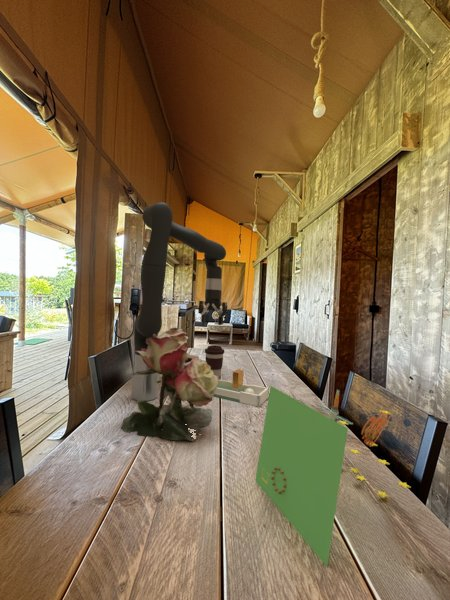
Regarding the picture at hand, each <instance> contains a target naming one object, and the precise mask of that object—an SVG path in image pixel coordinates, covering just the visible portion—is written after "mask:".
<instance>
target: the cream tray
mask: <svg viewBox="0 0 450 600" xmlns="http://www.w3.org/2000/svg"><path fill="white" fill-rule="evenodd" d="M247 388H251V389H253V390H254V394H252V393H247V392H245V390H246V389H247ZM269 393H270V387H266V386H260V385H255V384H244V383H243V391H241V392H236V391H232V381H230V380H224V379H220V378H219V383H218V385H217V388H216V391H215V393H214V396H213V397H215V398H221V399H223V400H229V401H233V402H238V403H242V404H245V405H249V406H254V407H260V406H261V405H263V404H264V403H265V401H268V399H269Z"/></svg>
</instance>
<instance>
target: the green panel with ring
mask: <svg viewBox="0 0 450 600" xmlns="http://www.w3.org/2000/svg"><path fill="white" fill-rule="evenodd" d="M334 397H335V398H334V401H333V405H332V406H331V409H329V408H327V407H324V406H322V405H318V408H320V409H322V410H323V411H326V412H327V413H328V416H327V415H325V414H324V413H321V412H319V411H317V410H316V409H313V408H311V407H310V406H309V405H307V404H304V403H302V402H301V401H299V400H297V399H296V398H294V397H292V396H290V395H288V394H286V393H284V392H283V391H281V390H279V389H277V388H276V387H273V386H271V385H270V387H269V398H268V399H267V406H266V412H265V417H264V418H265V419H264V424H263V431H262V437H261V444H260V448H259V453H258V454H259V457H258V461H257V466H256V467H257V468H256V474H255V482H256V483H257V484H258V485H259V487H260V488H261V489H262V490H263V492H264V493H265V494H266V496H267V497H268V498H269V499H270V500H271V501H272V503H273V504H274V505H275V506H276V507H277V508H278V510H279V511H280V512H281V514H283V516H284V517H285V518H286V519H287V520H288V522H289V523H290V524H291V525H292V526H293V528H294V529H295V531H297V533H298V534H299V535H300V536H301V538H302V539H303V540H304V541H305V542H306V543H307V545H308V546H309V547H310V548H311V549H312V550H313V551H314V554H316V555H317V556H318V558H319V559H320V560H321V561H322V562H323V564H324V566H326V567H328V563H329V556H330V548H331V544H332V543H331V542H332V535H333V531H334V530H333V528H334V523H335V516H336V509H337V502H338V497H339V490H340V489H339V488H340V483H341V475H342V469H343V463H344V459H345V449H346V442H347V437H348V436H347V435H348V429H349V428H348V427H347V426H349V425H352V426H353V425H354V423H353V422H352V421H350V420H348V419H347V418H346V417H344V416H341V415H340V414H339V413H340V412H339V403H340V390H339V389H336V393H335V396H334ZM378 412H379V415H378V417H377V418H376V417H375V416H372V417H370V418H369V419H368V420H367V421H366V423H365V424H364V425H363V427H362V429H361V433H360V434H361V435H362V437H361V439H362V440H364V441H363V443H364V444H365V445H367V446H369V447H370V448H371V447H378V444H376V441H377V440H378V439H379V437H380V435H381V433H382V432H383V430H384V429H385V428H386V426H387V424H388V423H389V421H390V419H391V417H392V413H391V412H389V411H388V410H384V409H380V410H379V411H378ZM381 415H382V416H381ZM338 419H340V420H339V421H338ZM370 422H371V423H370ZM369 423H370V424H369ZM368 424H369V426H368V427H367V425H368ZM345 425H347V426H345ZM349 453H353V454H354V455H361V454H362V453H361V452H359V451H358V449H352V448H350V450H349ZM376 462H377V463H380V464H382V465H383V466H385V465H390V464H391V463H389V462H387V460H385V459H381V458H377V461H376ZM349 472H353V473H355V474H356V477H355V479H357V480H360V482H363V481H367V479H366V478H365V476H364V475H359V474H362V471H360V470H359V468H355V467H350V469H349ZM357 473H359V474H357ZM397 482H398V484H397V486H400V487H402V488H404V489H407V488H408V489H411V488H412V486H410V485H408V484H407V482H402V481H399V480H398V481H397ZM376 495H377V496H381V497H382V498H383V499H385V498H390V495H388V494H386V492H385V491H380V490H377V493H376Z"/></svg>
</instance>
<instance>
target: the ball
mask: <svg viewBox="0 0 450 600" xmlns="http://www.w3.org/2000/svg"><path fill="white" fill-rule="evenodd" d="M245 392H247V393H252V394H254V390H253V389H251V388H247V389H246V390H245Z"/></svg>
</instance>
